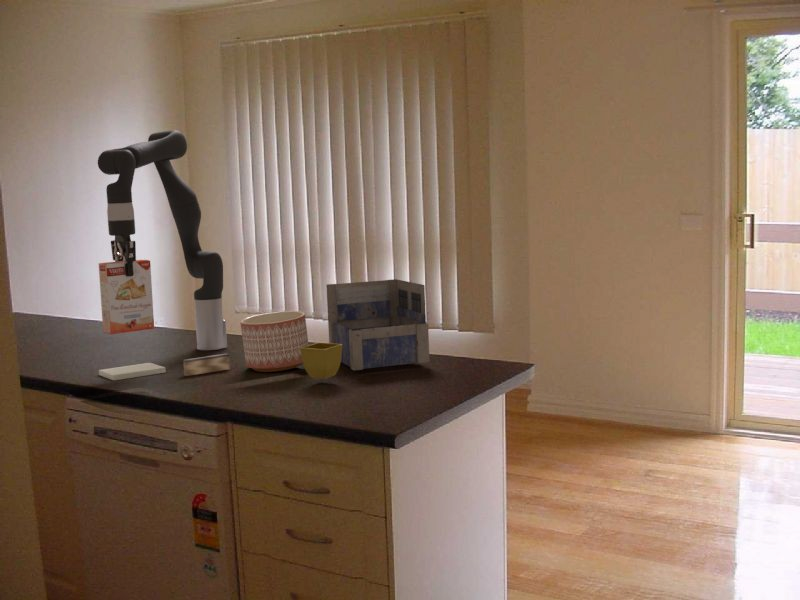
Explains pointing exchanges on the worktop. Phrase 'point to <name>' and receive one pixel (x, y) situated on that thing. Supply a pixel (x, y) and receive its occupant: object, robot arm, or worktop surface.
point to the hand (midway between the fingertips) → (125, 275)
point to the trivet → (131, 371)
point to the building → (378, 323)
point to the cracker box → (126, 297)
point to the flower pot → (321, 359)
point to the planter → (274, 340)
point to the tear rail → (206, 364)
